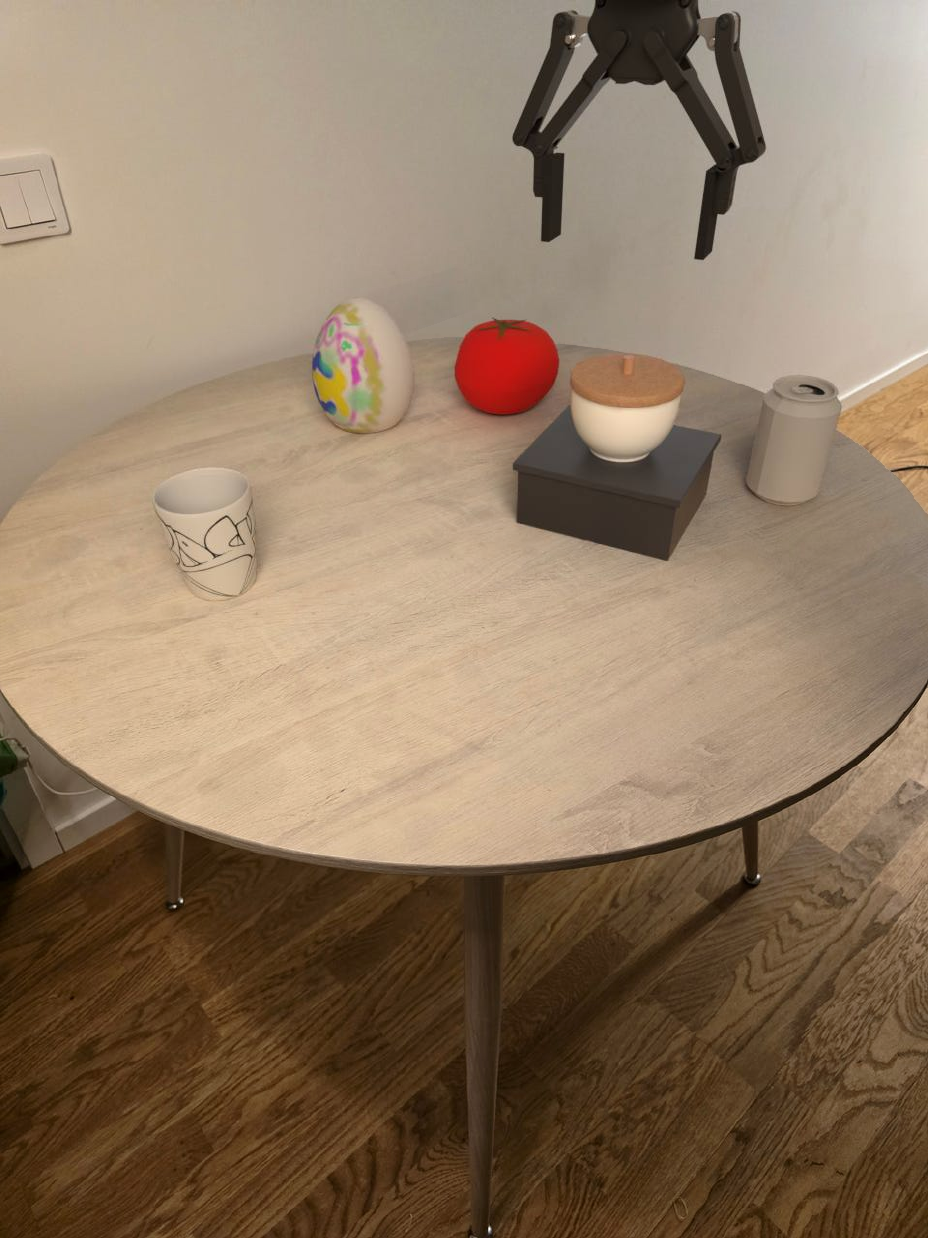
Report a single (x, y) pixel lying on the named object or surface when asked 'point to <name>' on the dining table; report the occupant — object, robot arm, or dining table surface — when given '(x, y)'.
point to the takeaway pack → (614, 488)
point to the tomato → (506, 366)
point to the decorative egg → (362, 368)
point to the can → (793, 439)
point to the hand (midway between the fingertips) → (624, 246)
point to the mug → (210, 530)
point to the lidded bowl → (624, 404)
